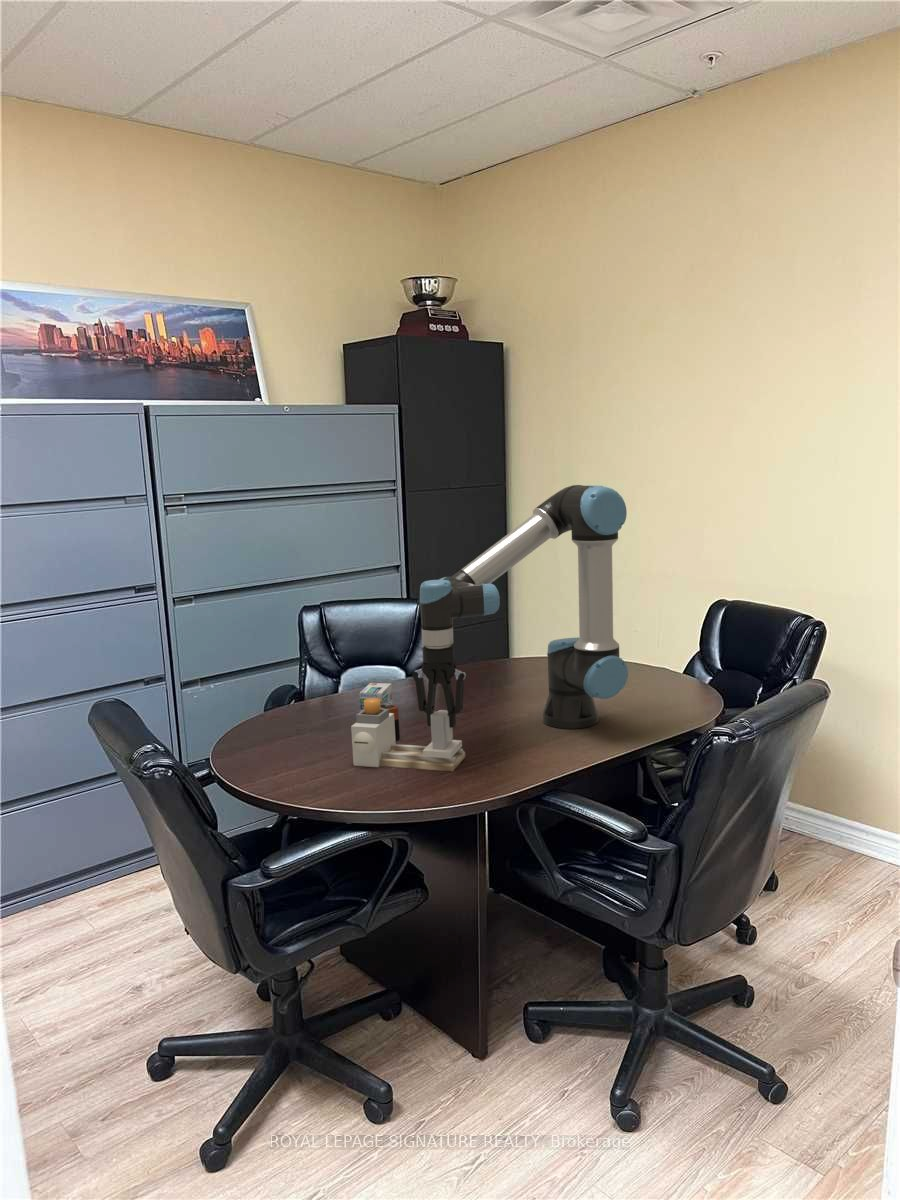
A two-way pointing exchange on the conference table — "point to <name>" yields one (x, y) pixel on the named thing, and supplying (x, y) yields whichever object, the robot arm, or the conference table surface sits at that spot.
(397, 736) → the battery
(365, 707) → the button
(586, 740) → the conference table surface
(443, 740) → the carriage
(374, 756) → the cabinet
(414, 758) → the rail bed
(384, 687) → the light bulb box
